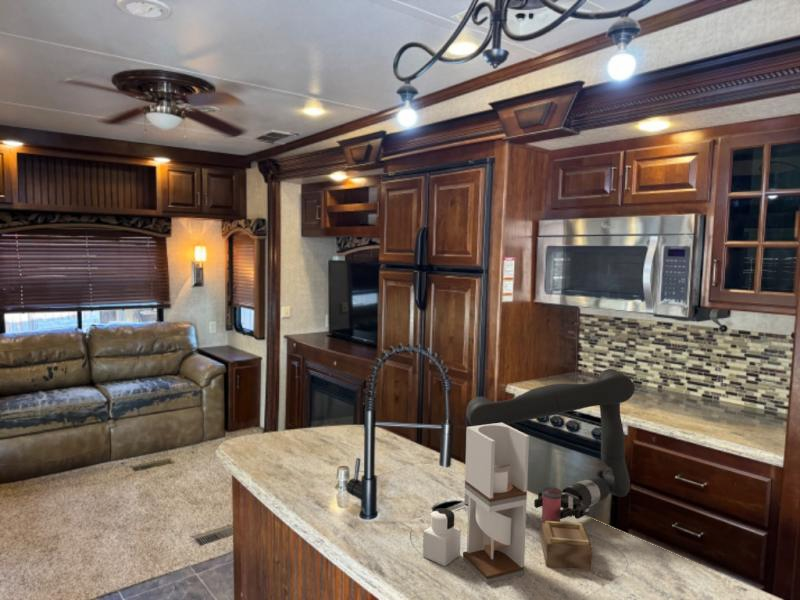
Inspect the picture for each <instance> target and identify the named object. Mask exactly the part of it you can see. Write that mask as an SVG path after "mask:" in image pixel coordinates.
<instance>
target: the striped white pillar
mask: <svg viewBox="0 0 800 600" xmlns="http://www.w3.org/2000/svg"><path fill="white" fill-rule="evenodd" d="M529 447H530V435H528V434H526V433H525V432H522V431H519V430H518V429H517V428H514V427H512V426H510V425H509V424H508V425H506V424H504V423H494V424H486V425H478V426H471V427H467V431H466V430H465V470H464V471H465V472H464V473H465V474H464V495H465V494H467V495H468V496H469V497H468V504H467V534H466V535H467V537H466V538H467V539H466V540H467V541H466V551H463V552H462V561H463V562H465V564H466V565H468V567H469V568H470V569H471V570H472V571H473V572H474V573H475V574H476V575H477V576H478V577H479V578H480V579H481V580H482V581H483V582H484V583H485V584H486V585H490V584H493V583H499V582H501V581H505V580H508V579H512V578H517V577H519V576H523V575H525V574H524V573H525V552H526V550H525V549H526V548H525V547H526V528H527V527H526V526H527V524H526V523H527V503H528V502H527V501H528V500H527V499H528V498H527V497H528V474H529V471H528V470H529V451H530V450H529Z"/></svg>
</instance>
